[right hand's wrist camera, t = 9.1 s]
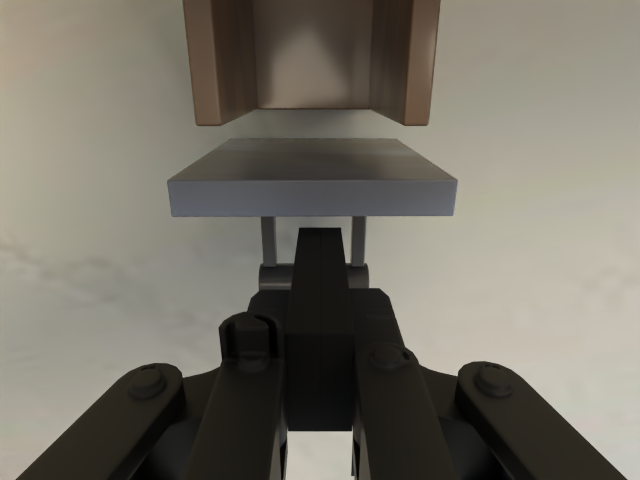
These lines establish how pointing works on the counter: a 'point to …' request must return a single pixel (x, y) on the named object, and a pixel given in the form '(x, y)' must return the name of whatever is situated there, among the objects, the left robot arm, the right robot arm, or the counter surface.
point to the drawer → (311, 93)
